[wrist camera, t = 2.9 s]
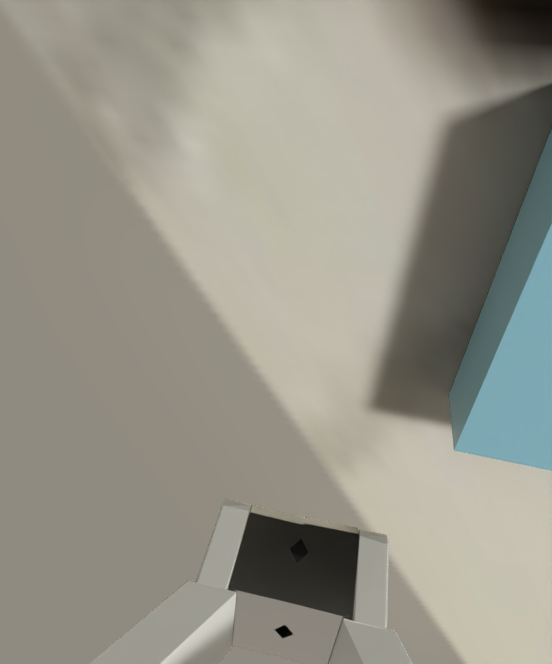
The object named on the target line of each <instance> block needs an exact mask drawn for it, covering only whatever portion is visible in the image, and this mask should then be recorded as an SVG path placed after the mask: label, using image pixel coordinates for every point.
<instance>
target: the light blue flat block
mask: <svg viewBox="0 0 552 664" xmlns="http://www.w3.org/2000/svg"><path fill="white" fill-rule="evenodd" d="M449 404H450V414H451V424H452V434H453V444H454V450H455V451H459V452H464V453H469V454H474V455H479V456H484V457H489V458H493V459H498V460H503V461H508V462H513V463H518V464H522V465H527V466H532V467H537V468H542V469H547V470H551V471H552V129H551V131H550V134H549V136H548V139H547V142H546V144H545V147H544V149H543V152H542V155H541V157H540V160H539V162H538V165H537V168H536V170H535V173H534V175H533V178H532V181H531V183H530V186H529V188H528V191H527V194H526V196H525V199H524V201H523V204H522V207H521V209H520V212H519V214H518V217H517V220H516V222H515V225H514V227H513V230H512V232H511V235H510V238H509V240H508V243H507V245H506V248H505V251H504V253H503V256H502V258H501V261H500V264H499V266H498V269H497V271H496V274H495V277H494V279H493V282H492V284H491V287H490V290H489V292H488V295H487V297H486V300H485V303H484V305H483V308H482V310H481V313H480V316H479V318H478V321H477V323H476V326H475V329H474V331H473V334H472V336H471V339H470V341H469V344H468V347H467V349H466V352H465V354H464V357H463V360H462V362H461V365H460V367H459V370H458V373H457V375H456V378H455V380H454V383H453V386H452V388H451V391H450V393H449Z"/></svg>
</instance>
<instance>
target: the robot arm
mask: <svg viewBox="0 0 552 664" xmlns="http://www.w3.org/2000/svg"><path fill="white" fill-rule="evenodd" d="M388 550H389V541H388V538H387V536H386V535H385V534H380V533H375V532H370V531H365V530H360V529H359V530H358V528H356V527H351V526H346V525H341V524H337V523H332V522H327V521H323V520H318V519H313V518H308V517H305V518H304V517H300V516H296V515H292V514H288V513H284V512H280V511H275V510H271V509H267V508H263V507H259V506H255V505H252V504H247V503H243V502H239V501H235V500H230V499H225V501H224V503H223V505H222V507H221V509H220V512H219V515H218V518H217V521H216V524H215V527H214V530H213V533H212V536H211V539H210V542H209V544H208V547H207V550H206V553H205V556H204V559H203V562H202V565H201V568H200V571H199V574H198V577H197V580H196V581H191V580H187V581H186V582H185V583H184V584H182V585H181V586H180V587H179V588H178V589H177V590H175V591H174V592H173V593H172V594H171V595H170V596H168V597H167V598H166V599H165V600H164V601H162V602H161V603H160V604H159V605H158V606H157V607H155V609H153V610H152V611H151V612H150V613H148V614H147V615H146V616H145V617H144V618H142V619H141V620H140V621H139V622H138V623H137V624H135V625H134V626H133V627H132V628H131V629H130V630H128V631H127V632H126V633H125V634H124V635H123V636H121V637H120V638H119V639H118V640H117V641H116V642H114V643H113V644H112V645H111V646H110V647H109V648H107V649H106V650H105V651H104V652H103V653H101V654H100V655H99V656H98V657H97V658H95V659H94V660H93V661H92V662H91V663H90V664H219V663H220V662H221V661H222V660H223V658H224V657H225V656H226V655H227V654H228V653H229V652H230V651H231V646H232V647H237V648H241V649H246V650H250V651H254V652H259V653H264V654H268V655H272V656H277V657H280V658H284V659H287V660H291V661H294V662H298V663H301V664H412V662H411V660H410V658H409V656H408V654H407V652H406V650H405V648H404V646H403V644H402V643H401V641H400V639H399V637H398V635H397V633H396V631H393V630H390V629H387V595H388V593H387V592H388Z"/></svg>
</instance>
